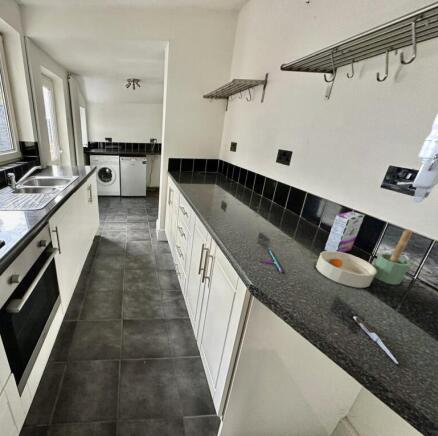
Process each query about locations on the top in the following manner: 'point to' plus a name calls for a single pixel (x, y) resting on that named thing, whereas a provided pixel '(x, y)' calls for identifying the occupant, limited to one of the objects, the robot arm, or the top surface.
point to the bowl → (346, 269)
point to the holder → (390, 269)
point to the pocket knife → (373, 336)
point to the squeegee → (274, 262)
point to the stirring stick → (401, 245)
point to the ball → (336, 262)
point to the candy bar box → (344, 232)
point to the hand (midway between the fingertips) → (419, 199)
